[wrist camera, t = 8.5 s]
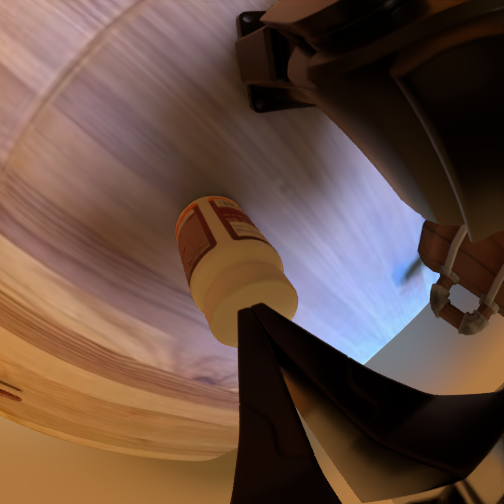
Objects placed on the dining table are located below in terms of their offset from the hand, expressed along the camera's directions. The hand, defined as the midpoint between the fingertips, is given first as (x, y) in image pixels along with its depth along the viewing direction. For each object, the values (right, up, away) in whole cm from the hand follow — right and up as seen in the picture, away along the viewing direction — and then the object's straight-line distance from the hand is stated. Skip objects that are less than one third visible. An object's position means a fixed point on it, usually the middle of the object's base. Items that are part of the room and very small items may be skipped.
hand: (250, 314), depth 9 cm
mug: (+24, +4, +21) cm, 32 cm away
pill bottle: (-3, +4, +10) cm, 11 cm away
